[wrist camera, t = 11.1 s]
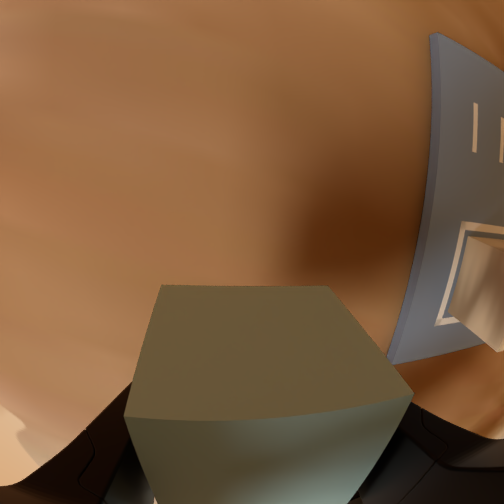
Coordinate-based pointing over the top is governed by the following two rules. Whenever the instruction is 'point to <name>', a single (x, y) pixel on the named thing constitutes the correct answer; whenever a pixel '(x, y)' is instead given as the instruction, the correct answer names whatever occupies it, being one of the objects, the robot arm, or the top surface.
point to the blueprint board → (453, 197)
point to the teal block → (260, 397)
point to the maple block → (481, 290)
